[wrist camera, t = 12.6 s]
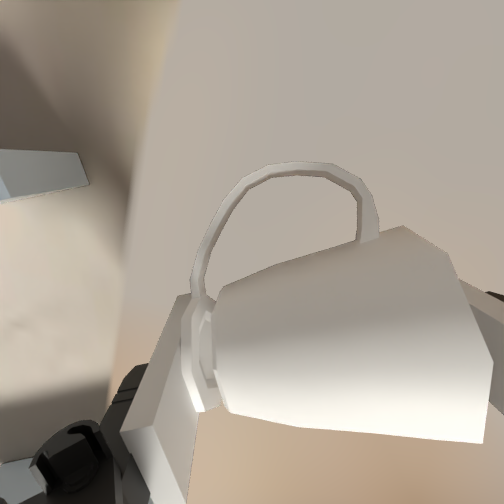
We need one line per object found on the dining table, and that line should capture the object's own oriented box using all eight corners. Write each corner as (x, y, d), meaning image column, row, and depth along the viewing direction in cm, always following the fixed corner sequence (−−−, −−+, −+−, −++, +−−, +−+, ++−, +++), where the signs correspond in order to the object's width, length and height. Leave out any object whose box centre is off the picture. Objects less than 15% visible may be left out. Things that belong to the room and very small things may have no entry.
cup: (179, 531, 7) (527, 522, 6) (126, 153, 7) (445, 82, 6) (234, 395, 14) (400, 380, 13) (205, 203, 14) (364, 172, 13)
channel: (-181, 207, 10) (-416, 234, 7) (77, 152, 10) (-13, 148, 7) (12, 478, 15) (-60, 582, 12) (188, 442, 15) (173, 534, 12)
